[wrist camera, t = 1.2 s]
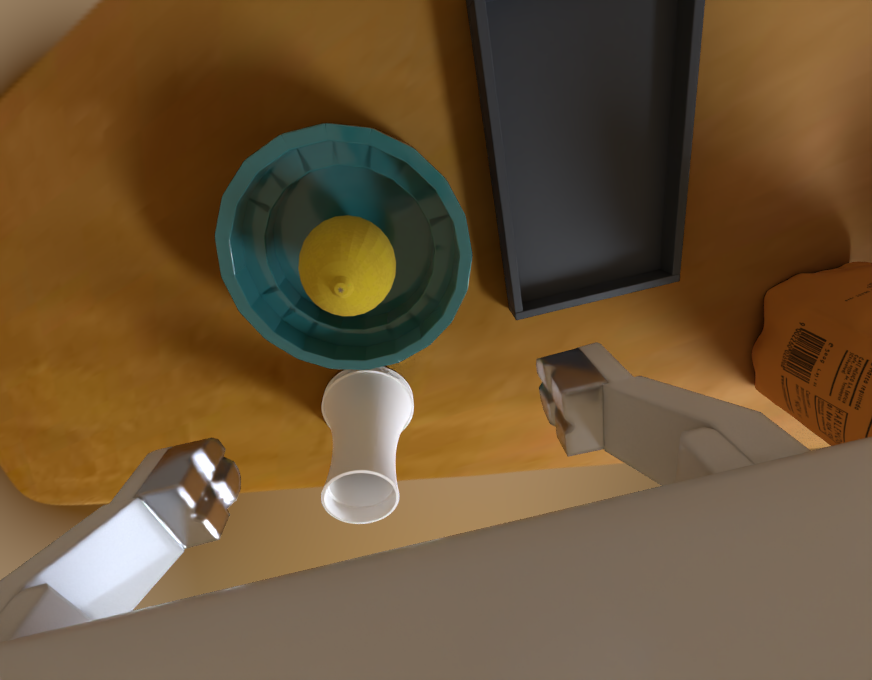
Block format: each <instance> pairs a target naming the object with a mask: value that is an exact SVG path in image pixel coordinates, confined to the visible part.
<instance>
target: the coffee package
mask: <svg viewBox="0 0 872 680" xmlns="http://www.w3.org/2000/svg"><path fill="white" fill-rule="evenodd" d="M752 361H753V365H754V369H755V388H756V390H758V391H759V392H760V393H761V394H763V395H764V396H766V397H767V398H768V399H770V400H771V401H772V402H773V403H774V404H776V405H777V406H779V407H780V408H782V409H783V410H785V411H786V412H787V413H789V414H790V415H792V416H793V417H794V418H796V419H797V420H798V421H799V422H801V423H802V424H803V425H804V426H806V427H807V428H808V429H809V430H811V431H812V432H813V433H815V434H816V435H817V436H819V437H820V438H822V439H823V440H825V441H826V442H827V443H828V444H829V445H831V446H834V445H838V444H842V443H846V442H851V441H855V440H859V439H863V438H868V437H872V263H868V262H851V263H846V264H844V265H843V266H841V267H839V268H836V269H831V270H825V271H821V272H817V273H811V274H809V273H800V274H797V275H795V276H793V277H791V278H789V279H788V280H786V281H784V282H782V283H780V284H778V285H776V286H775V287H773V288H771V289H770V290H768V291H767V293H766V295H765V297H764V328H763V330H762V333H761V334H760V336H759V337H758V339H757V340H756V342H755V344H754V346H753V350H752Z"/></svg>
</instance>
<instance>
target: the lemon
mask: <svg viewBox="0 0 872 680" xmlns="http://www.w3.org/2000/svg"><path fill="white" fill-rule="evenodd" d="M298 269H299V275H300V280H301V283H302V286H303V288H304V290H305V292H306V294H307V295H308V296H309V297H310V299H311V300H312V301H313V302H314V303H315V304H316V305H318V306H319V307H320V308H321V309H323V310H325V311H327V312H329V313H331V314H335V315H339V316H356V315H360V314H364V313H366V312H368V311H370V310H372V309H374V308H375V307H376V306H377V305H378V304H380V303H381V302H382V301H383V300H384V298H385V297H386V295H387V294H388V292H389V291H390V289H391V287H392V284H393V281H394V278H395V273H396V260H395V255H394V250H393V247H392V245H391V243H390V241H389V239H388V238H387V236H386V235H385V234H384V233H383V232H382V230H381V229H380V228H378V227H377V226H376V225H374V224H373V223H372V222H370V221H368V220H366V219H363V218H361V217H356V216H349V215H345V216H336V217H333V218H330V219H328V220H325V221H323V222H322V223H320V224H319V225H318V226H316V227H315V228H314V229H313V230H312V231H311V232H310V234H309V235H308V236H307V238H306V239H305V241H304V243H303V246H302V248H301V251H300V254H299V267H298Z"/></svg>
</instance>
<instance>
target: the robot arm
mask: <svg viewBox="0 0 872 680" xmlns="http://www.w3.org/2000/svg"><path fill="white" fill-rule="evenodd" d="M536 367H537V374H538V375H539V377H540V379H541V381H542V383H541V385H540V387H539V391H540V398H541V402H542V406H543V410H544V412H545V414H546V417H547V419H548V421H549V423H550V424H551V425H553V426H555V427H556V433H557V438H558V439H559V441H560V443H561V445H562V447H563V449H564V450H565V452H566V454H567V456H573V455H578V454H582V453H587V452H592V451H597V450H601V449H605V451H606V452H608V453H610V454H611V455H613V456H614V457H616V458H618V459H619V460H621V461H623V462H624V463H626V464H627V465H629V466H631V467H632V468H634V469H636V470H637V471H639V472H641V473H642V474H644V475H645V476H647V477H649V478H650V479H652V480H654V481H655V482H657V483H658V484H660V485H662V486H660V487H655V488H651V489H647V490H643V491H638V492H634V493H630V494H626V495H622V496H617V497H613V498H609V499H604V500H600V501H596V502H592V503H588V504H583V505H580V506H575V507H571V508H567V509H563V510H558V511H554V512H550V513H546V514H542V515H538V516H533V517H529V518H525V519H520V520H516V521H512V522H508V523H503V524H499V525H495V526H490V527H486V528H482V529H478V530H474V531H469V532H465V533H460V534H456V535H452V536H448V537H444V538H439V539H435V540H430V541H426V542H422V543H418V544H413V545H409V546H405V547H401V548H397V549H392V550H388V551H383V552H379V553H375V554H371V555H367V556H362V557H358V558H354V559H350V560H345V561H341V562H337V563H333V564H329V565H324V566H320V567H316V568H311V569H307V570H303V571H299V572H295V573H291V574H286V575H282V576H278V577H274V578H269V579H265V580H261V581H257V582H252V583H248V584H244V585H240V586H235V587H231V588H227V589H223V590H218V591H214V592H210V593H206V594H201V595H198V596H193V597H189V598H185V599H180V600H176V601H172V602H167V603H163V604H159V605H155V606H151V607H146V608H142V609H138V610H133V609H134V608H135V607H136V606H137V605H138V603H139V602H140V601H141V600H142V599H143V597H145V595H146V594H147V593H148V592H149V591H150V590H151V589H152V587H153V586H154V585H155V584H156V583H157V582H158V580H159V579H160V578H161V577H162V576H163V575H164V574H165V573H166V571H167V570H168V569H169V568H170V567H171V566H172V565H173V563H174V562H175V561H176V560H177V559H178V558H179V557H180V555H181V554H182V553H183V552H184V549H186V548H190V547H193V546H197V545H201V544H204V543H208V542H212V541H216V540H219V539H220V537H221V534H222V532H223V530H224V527H225V525H226V523H227V521H228V518H229V516H230V514H229V511H228V509H227V508H228V507H229V506H230V505H231V504H232V503H233V502H234V501H235V500H236V499H237V497H238V495H239V492H240V489H241V476H240V473H239V469H238V467H237V466H236V464H235V463H234V462H233V461H231V460H229V459H227V458H225V457H224V453H225V448H224V446H223V445H222V444H221V442H220V441H219V439H215V438H208V439H203V440H199V441H194V442H190V443H185V444H181V445H176V446H173V447H167V448H163V449H159V450H155V451H153V452H151V453H149V454H148V455H147V456H146V457H145V458H144V460H143V461H142V462H141V464H140V465H139V466H138V468H137V469H136V470H135V471H134V473H133V474H132V475H131V477H130V478H129V479H128V480H127V482H126V483H125V484H124V486H123V487H122V488H121V490H120V491H119V492H118V493H117V495H116V496H115V497H114V499H113V500H112V501H111V502H110V504H108V505H104V506H102V507H100V508H99V509H98V510H96V511H95V512H94V513H92V514H91V515H89V516H88V517H87V518H85V519H84V520H83V521H81V522H80V523H79V524H77V525H76V526H74V527H73V528H72V529H70V530H69V531H67V532H66V533H65V534H63V535H62V536H61V537H59V538H58V539H57V540H55V541H54V542H52V543H51V544H50V545H48V546H47V547H45V548H44V549H43V550H41V551H40V552H39V553H37V554H36V555H35V556H33V557H32V558H30V559H29V560H28V561H26V562H25V563H24V564H22V565H21V566H19V567H18V568H17V569H15V570H14V571H13V572H11V573H10V574H9V575H7V576H6V577H4V578H3V579H2V580H0V680H872V437H868V438H863V439H859V440H855V441H851V442H846V443H842V444H838V445H834V446H829V447H825V448H821V449H817V450H813V451H810V450H809V449H808V448H806V447H805V446H804V445H802V444H801V443H800V442H799V441H797V440H796V439H795V438H793V437H792V436H791V435H789V434H788V433H787V432H786V431H784V430H783V429H782V428H780V427H779V426H778V425H776V424H775V423H774V422H772V421H771V420H770V419H769V418H767V417H766V416H765V415H763V414H762V413H761V412H758V411H755V410H752V409H748V408H745V407H742V406H739V405H735V404H732V403H729V402H725V401H722V400H719V399H715V398H712V397H709V396H705V395H702V394H699V393H695V392H692V391H689V390H686V389H682V388H679V387H676V386H672V385H669V384H666V383H662V382H659V381H656V380H652V379H649V378H646V377H642V376H637V377H633V376H632V375H631V374H630V373H629V372H628V371H627V370H626V369H625V368H624V367H623V366H622V365H621V364H620V363H619V362H618V361H617V360H616V359H615V358H614V357H613V356H612V355H611V354H610V353H609V352H608V351H607V350H606V349H605V348H604V347H603V346H602V345H601V344H600V343H593V344H589V345H586V346H582V347H578V348H576V349H572V350H569V351H565V352H561V353H557V354H553V355H549V356H546V357H542V358H538V359H537V360H536ZM132 610H133V611H132Z"/></svg>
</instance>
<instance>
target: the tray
mask: <svg viewBox="0 0 872 680" xmlns="http://www.w3.org/2000/svg"><path fill="white" fill-rule="evenodd" d="M466 4H467V11H468V18H469V25H470V33H471V40H472V47H473V54H474V61H475V68H476V75H477V83H478V90H479V97H480V104H481V111H482V118H483V125H484V133H485V140H486V147H487V154H488V161H489V168H490V175H491V183H492V190H493V197H494V204H495V211H496V218H497V225H498V233H499V240H500V247H501V254H502V261H503V268H504V275H505V283H506V290H507V297H508V304H509V310H510V311H511V313H512V314H513V316H514V317H515V319H516V320H519V319H524V318H528V317H532V316H536V315H540V314H544V313H549V312H553V311H557V310H561V309H565V308H569V307H574V306H578V305H582V304H586V303H590V302H594V301H599V300H603V299H607V298H611V297H615V296H619V295H624V294H628V293H632V292H636V291H640V290H644V289H649V288H653V287H657V286H661V285H665V284H669V283H674V282H678V281H680V269H681V259H682V248H683V237H684V226H685V215H686V204H687V193H688V182H689V171H690V160H691V149H692V138H693V127H694V116H695V105H696V94H697V83H698V72H699V61H700V50H701V39H702V28H703V17H704V6H705V0H466Z"/></svg>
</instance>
